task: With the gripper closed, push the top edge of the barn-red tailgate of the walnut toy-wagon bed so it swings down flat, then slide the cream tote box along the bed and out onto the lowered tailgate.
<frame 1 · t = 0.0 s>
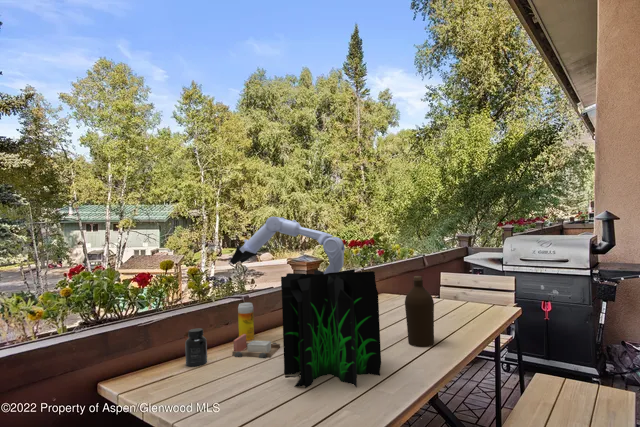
hand: (236, 261, 152), 32 cm above the table, tool tilted 50°, fingers open, 7 cm apart
decorative plant: (332, 371, 116), on the table
yellow bottle: (246, 341, 152), on the table
tailgate: (240, 344, 136), point 3 cm above the table, hinge at 0.0°
supplement bottle: (196, 366, 125), on the table
tote: (259, 351, 134), point 1 cm above the table, touching wagon bed
wagon bed: (257, 354, 134), on the table
olive oil: (421, 343, 140), on the table
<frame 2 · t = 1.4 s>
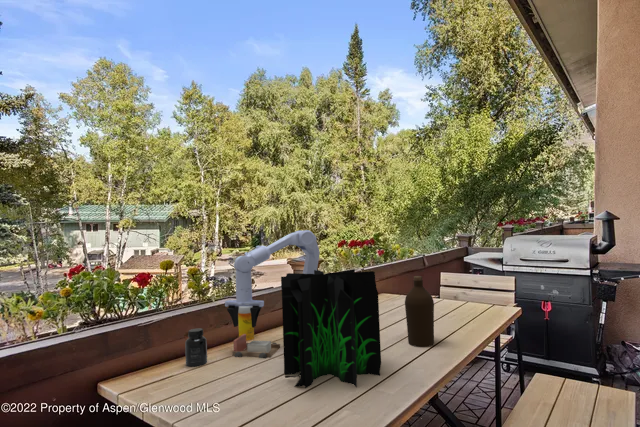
hand: (244, 326, 136), 10 cm above the table, tool pointing down, fingers open, 6 cm apart
nothing on the table moved.
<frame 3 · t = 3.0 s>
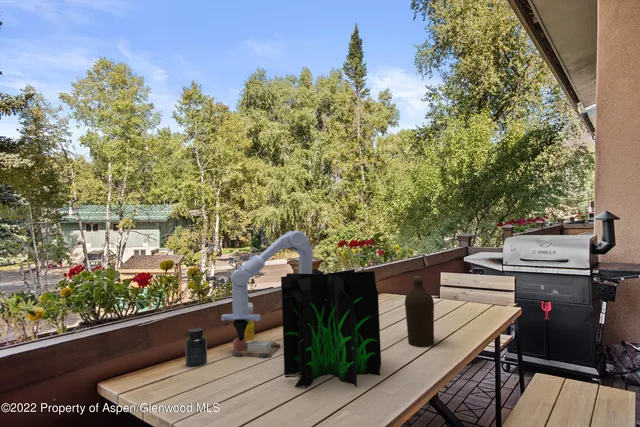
hand: (241, 340, 136), 5 cm above the table, tool pointing down, fingers closed, pressing on tailgate
tailgate: (239, 344, 136), point 3 cm above the table, hinge at 2.2°, touching gripper
everything else where it was.
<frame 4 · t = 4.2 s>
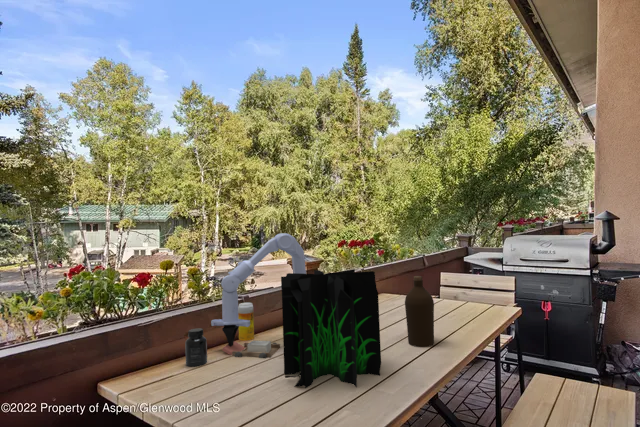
hand: (231, 345, 137), 3 cm above the table, tool pointing down, fingers closed, pressing on tailgate
tailgate: (234, 348, 136), point 2 cm above the table, hinge at 63.5°, touching gripper
everything else where it was.
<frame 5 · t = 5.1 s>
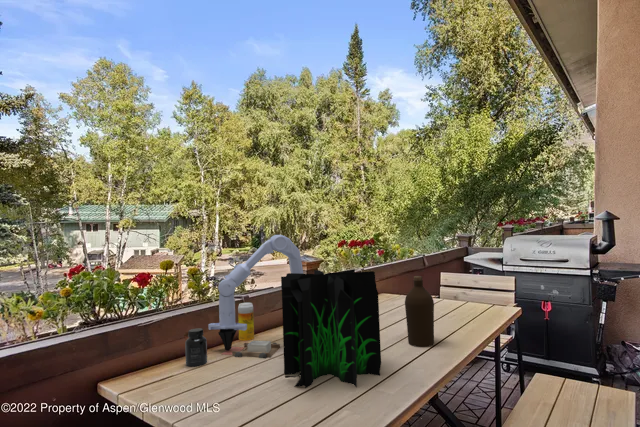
hand: (228, 349, 137), 1 cm above the table, tool pointing down, fingers closed
tailgate: (233, 352, 136), point 1 cm above the table, hinge at 88.7°
everything else where it was.
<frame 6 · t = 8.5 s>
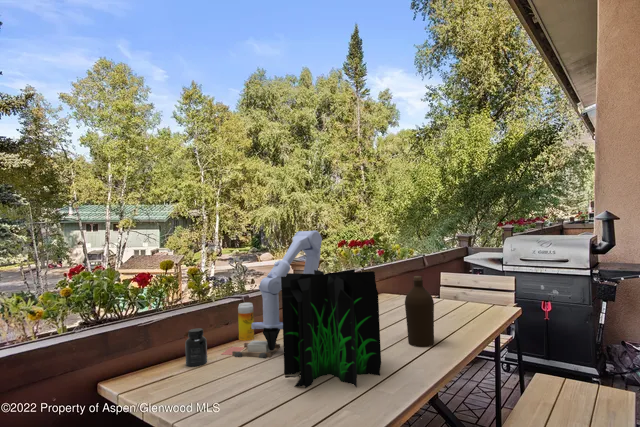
hand: (272, 349, 133), 2 cm above the table, tool pointing down, fingers closed
tote: (259, 351, 134), point 1 cm above the table, touching gripper, wagon bed
everything else where it was.
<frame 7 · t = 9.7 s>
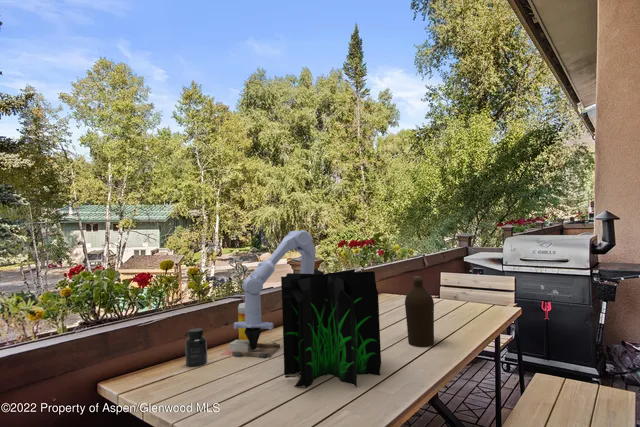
hand: (253, 348, 135), 2 cm above the table, tool pointing down, fingers closed
tote: (241, 351, 136), point 1 cm above the table, touching gripper
everything else where it was.
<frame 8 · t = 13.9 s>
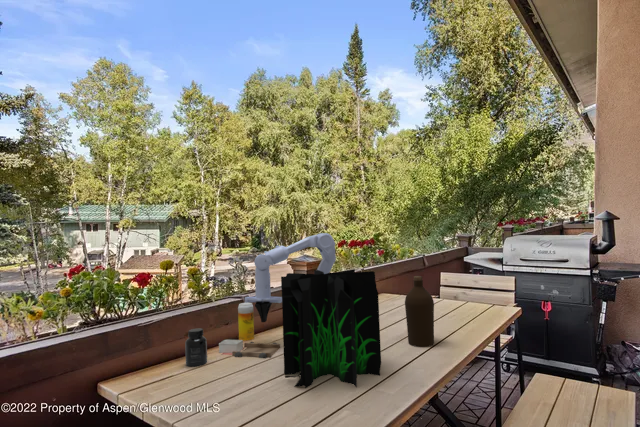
hand: (263, 321, 142), 10 cm above the table, tool pointing down, fingers closed
tailgate: (233, 352, 136), on the table, hinge at 90.3°, touching tote
tote: (231, 350, 137), point 1 cm above the table, touching tailgate
everything else where it was.
at the end: tailgate at +90° (first picture: +0°); tote inside the target area (1.4 cm from its centre), point 1.0 cm above the table; tote tilted 0° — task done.
